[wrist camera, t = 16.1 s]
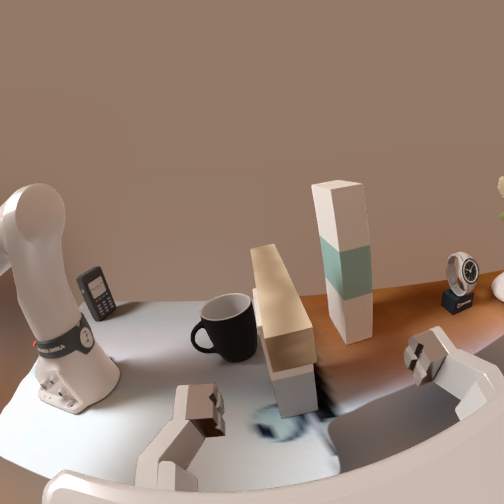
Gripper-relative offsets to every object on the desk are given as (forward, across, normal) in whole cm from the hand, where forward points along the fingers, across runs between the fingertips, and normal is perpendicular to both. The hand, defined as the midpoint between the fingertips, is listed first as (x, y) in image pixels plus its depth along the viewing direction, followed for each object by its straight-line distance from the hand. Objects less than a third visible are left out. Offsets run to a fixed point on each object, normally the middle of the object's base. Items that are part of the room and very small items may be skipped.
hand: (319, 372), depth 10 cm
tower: (+27, +14, -28) cm, 42 cm away
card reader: (+54, -51, -36) cm, 83 cm away
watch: (+22, +36, -26) cm, 49 cm away
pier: (+15, 0, -26) cm, 30 cm away
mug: (+27, -9, -29) cm, 41 cm away
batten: (+17, 0, -10) cm, 20 cm away
